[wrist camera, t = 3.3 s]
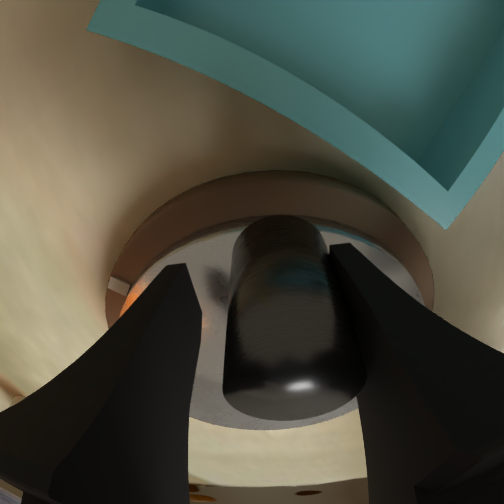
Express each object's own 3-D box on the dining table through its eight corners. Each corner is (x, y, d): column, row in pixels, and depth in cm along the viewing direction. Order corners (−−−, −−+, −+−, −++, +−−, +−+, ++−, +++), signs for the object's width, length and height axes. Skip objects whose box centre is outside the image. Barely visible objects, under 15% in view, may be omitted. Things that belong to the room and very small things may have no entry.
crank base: (474, 274, 14) (485, 289, 13) (305, 419, 21) (306, 433, 20) (189, 91, 9) (181, 95, 8) (92, 353, 17) (86, 369, 16)
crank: (375, 406, 18) (392, 482, 13) (162, 413, 18) (150, 492, 13) (459, 204, 10) (553, 307, 5) (79, 210, 10) (-11, 326, 5)
